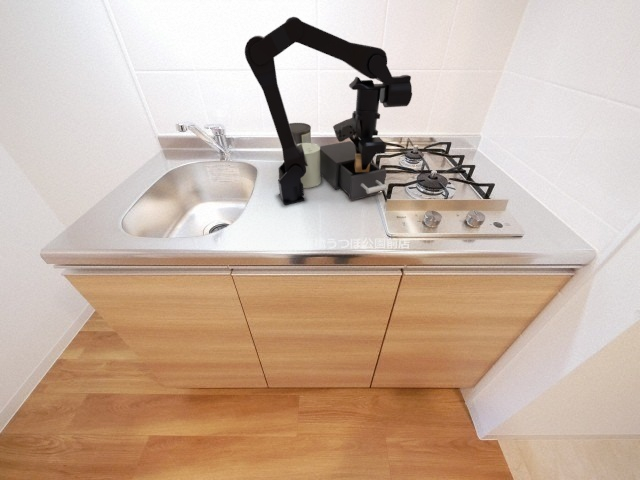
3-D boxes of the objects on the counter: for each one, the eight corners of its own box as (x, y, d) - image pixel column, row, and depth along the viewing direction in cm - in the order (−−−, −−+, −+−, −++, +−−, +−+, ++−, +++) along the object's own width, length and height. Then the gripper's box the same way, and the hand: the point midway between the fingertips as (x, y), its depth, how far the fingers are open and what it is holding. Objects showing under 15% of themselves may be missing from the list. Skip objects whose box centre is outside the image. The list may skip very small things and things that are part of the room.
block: (368, 172, 73) (370, 159, 71) (355, 172, 74) (356, 159, 71) (367, 166, 76) (368, 153, 74) (354, 166, 77) (355, 153, 74)
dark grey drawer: (392, 199, 74) (396, 176, 70) (358, 208, 71) (361, 185, 66) (361, 174, 87) (363, 153, 82) (331, 180, 84) (331, 159, 79)
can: (302, 190, 81) (299, 154, 73) (289, 179, 87) (285, 145, 79) (326, 183, 85) (326, 147, 77) (312, 172, 91) (310, 139, 83)
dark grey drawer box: (369, 181, 85) (372, 155, 79) (335, 189, 81) (336, 163, 75) (348, 165, 95) (350, 140, 89) (318, 171, 91) (317, 146, 85)
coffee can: (290, 174, 90) (286, 133, 81) (281, 163, 97) (277, 125, 88) (316, 168, 93) (315, 128, 84) (306, 158, 101) (304, 121, 91)
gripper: (329, 101, 70) (329, 155, 81) (344, 120, 56) (341, 183, 67) (368, 99, 71) (362, 153, 82) (391, 117, 58) (382, 179, 68)
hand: (361, 166), depth 74 cm, fingers closed on block, 4 cm apart
